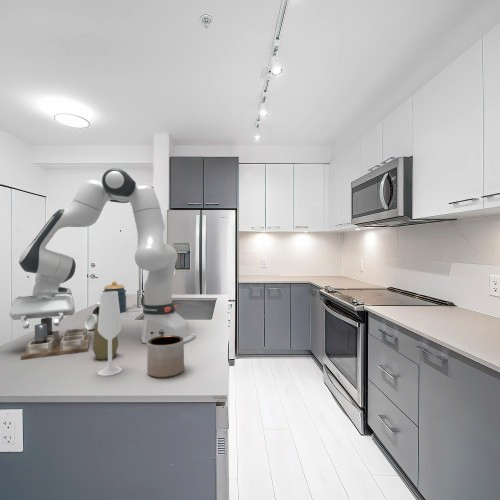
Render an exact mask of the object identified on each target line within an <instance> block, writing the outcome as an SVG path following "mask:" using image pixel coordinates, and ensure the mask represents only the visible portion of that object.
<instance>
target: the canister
mask: <svg viewBox="0 0 500 500" xmlns="http://www.w3.org/2000/svg"><path fill="white" fill-rule="evenodd" d="M117 283H118V282H117V281H112V282H111V284H107V285H106V286H104V287H103V289H104V290H103V291H102V292H111V291H115V292H118V299H119V308H120V314H121V313H125V312H126V311H127V308H128V306H127V295H126V293H127V290H126V289H125V286H124V285H123V284H119V283H118V284H117Z"/></svg>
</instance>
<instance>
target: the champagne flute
mask: <svg viewBox="0 0 500 500" xmlns="http://www.w3.org/2000/svg"><path fill="white" fill-rule="evenodd" d="M99 297H100V298H99V302H100V307H99V319H98V332H99V334H100V335H101V336H102V337H104V338H105V339H107V340H108V359H107V365H106V366H105V367H103V368H102V369H100V370H99V371H98V372H97V374H98V375H99V376H104V377H105V376H112V375H116V374H118V373H121V372H122V370H123V368H121V367H119V366H117V365H114V364H113V357H112V339H113V338H115V337H116V336H117V337H118V334H120V332H121V331H122V318H121V313H120V308H119V299H118V292H115V291H111V292H103V291H101V292H100V296H99Z"/></svg>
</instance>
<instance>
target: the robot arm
mask: <svg viewBox="0 0 500 500" xmlns="http://www.w3.org/2000/svg"><path fill="white" fill-rule="evenodd" d="M107 202H111V203H112V202H113V203H119V204H128V203H130V206H131V209H132V213H133V218H134V222H135V226H136V227H135V228H136V231H137V232H136V233H137V247H136V248H137V250H136V252H135V254H134V261H135V264H136V265H137V267H138V268H140V269H142V270H145V271H147V272H148V273H147V278H146V281H145V283H144V285H143V292H144V293H143V297H144V298H143V300H144V301H143V302H144V303H143V304H142V313H143V324H142V330H141V335H140V340H141V343H142V344H147V342H148V340H150V339H152V338H154V337H158V336H166V335H175V336H180V337H182V338H183V339H184V344H185V343H188V342H191V341H192V340H194V339H195V337H196V334H195V333H193V332H191V331H190V325H189V322H188V321H187V320H186V319H184V318H183V317H182V316H181V315H180V314H179V313H178V312H176V309H177V308H178V304H176V305H174V303H173V301H172V300H173V299H172V298H173V294H172V293H173V291H172V290H173V280H174V279H173V278H174V273H175V266H176V263H177V262H178V261H177V260H178V255H179V254H178V252H177V250H176V248H175V247H173V246H171V245H170V244H168V243H164V233H165V222H164V218H163V214H162V209H161V205H160V202H159V199H158V196H157V195H156V192H155V190H154V188H153V187H152V186H150V185H145V184H142V185H141V184H140V185H137V184H136V181H135V180H134V179H133V178H132V177H131V175H129V173H127V172H126V171H124V170H123V169H122V168H121V169H120V168H116V167H115V168H114V167H113V168H109V169H108V170H106V171H105V172H104V173H103V175H102V178H101V181H100V180H97V179H88V180H86V181H84V182H83V184H81V186H80V187H79V189H78V191H77V192H76V194H75V195H74V197H73V199H72V201H71V203H70V204H69V205H68V206H66V207H65V208H63V209H58V210H56V211H55V212H54V214H52V216H51V217H50V218H49V219H48V221H46V223H45V225H44V226H43V227H42V229H41V230H40V231H39V232H38V233H37V235H36V236H35V238H34V239H32V242H31V243H30V244H29V245H28V246H27V247H26V248H25V249H24V250H23V252H22V253H21V255H20V257H19V260H18V264H19V265H20V267H21V269H22V270H23V271H24V272H27V273H31V274H35V278H34V283H35V284H34V286H33V289H32V294H31V295H26V296H17V297H16V298H14V299H12V301H11V308H10V311H9V316H10V319H12V321H19V320H20V321H21V322H22V327H23V330H25V329H30V323H29V322H30V321H27V320H33V319H42V318H47V317H51V318H53V317H55V318H56V317H58V318H56V319H54V322H53V324H54V326H56V327H57V326H60V325H61V324H60V323H61V321H62V320H63V319H64V318H65V317H66V316H73V315H74V314H75V312H76V309H75V301H74V297H73V293H72V290H71V288H70V287H63V286H61V284H64V283H65V282H67V281H69V280H70V279H72V278H73V276H74V275H75V272H76V267H77V264H76V261H75V259H74V258H73V257H71V256H69V255H65V254H63V253H59V252H57V251H52V250H50V249H47V248H46V246H47V245H48V244H49V242H50V241H51V240H52V238H53V237H54V236H55V234H56V233H57V232H58V231H59V230H61V229H64V228H86V227H87V228H88V227H90V226H93V225H94V224H95V223H96V222H97V221H98V220H99V217H100V215H101V214H102V211H103V210H104V207H105V206H106V204H107Z"/></svg>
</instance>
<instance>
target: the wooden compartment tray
mask: <svg viewBox="0 0 500 500" xmlns="http://www.w3.org/2000/svg"><path fill="white" fill-rule="evenodd" d="M40 324H47V343H43V344H35V335H34V336H33V339H31V340H30V341H29V342H28V343H27V345H26V347H25V351H23V353H21V355H20V360H29V359H37V358H45V357H46V358H47V357H52V356H53V357H54V356H61V355H70V354H77V353H78V354H79V353H87V352H89V351H88V350H89V346H90V343H91V342H90V341H91V337H92V335H91V333H89V334H88V332H87V331H88V330H87V328H85V327H84V328H83V327H82V328H72V329H66V331H65V332H64V336H61V337H60V331H59V330H53V317H44V318H40Z"/></svg>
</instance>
